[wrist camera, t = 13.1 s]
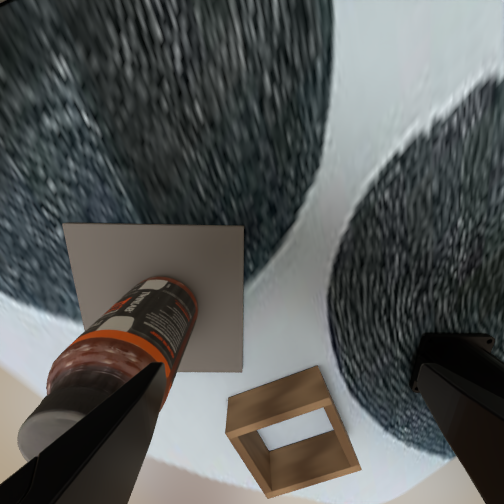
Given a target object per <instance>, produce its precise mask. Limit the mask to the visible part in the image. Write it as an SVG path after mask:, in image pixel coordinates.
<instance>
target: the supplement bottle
mask: <svg viewBox="0 0 504 504" xmlns="http://www.w3.org/2000/svg"><path fill="white" fill-rule="evenodd" d="M197 315H198V306H197V301H196V299H195V297H194V295H193V294H192V292H191V291H190V290H189V289H188V288H187V287H186V286H185V285H184V284H182V283H181V282H179V281H177V280H175V279H172V278H167V277H151V278H148V279H146V280H143V281H142V282H140V283H139V284H137V285H136V286H134V287H133V288H132V289H131V290H130V291H129V292H128V293H127V294H125V295H124V296H123V297H122V298H121V299H120V300H119V301H117V302H116V303H115V304H114V305H113V306H112V307H111V308H110V309H109V310H108V311H107V312H106V313H105V314H104V315H103V316H101V317H100V318H99V319H98V320H97V321H95V323H94V324H92V325H91V326H90V327H89V328H88V329H87V330H86V331H85V332H84V333H83V334H81V335H80V336H79V337H78V338H77V339H76V340H75V341H74V342H73V343H72V344H71V345H70V346H69V347H68V348H66V349H65V350H64V351H63V352H62V353H61V355H60V356H59V357H58V358H57V359H56V360H55V361H54V363H53V365H52V367H51V370H50V372H49V375H48V379H47V387H46V389H47V396H46V397H45V398H44V399H43V400H42V402H41V404H40V405H39V406H38V407H37V408H36V409H35V410H34V412H33V413H32V414H31V415H30V416H29V417H28V418H27V419H26V421H25V422H24V423H23V424H22V426H21V428H20V430H19V433H18V447H19V450H20V451H21V453H22V455H23V457H24V458H25V460H26V461H27V462H29V461H30V460H31V459H32V458H34V457H35V456H38V454H39V453H40V452H41V451H42V450H44V449H45V448H46V447H47V446H49V445H50V444H51V443H52V442H53V441H55V440H56V439H57V438H58V437H60V436H61V435H62V434H63V433H65V432H66V431H67V430H68V429H69V428H71V427H72V426H73V425H74V424H76V423H77V422H78V421H79V420H81V419H82V418H83V417H84V416H86V415H87V414H88V413H89V412H90V411H92V410H93V409H94V408H95V407H97V406H98V405H99V404H100V403H102V402H103V401H104V400H105V399H106V398H108V397H109V396H110V395H111V394H113V393H114V392H115V391H116V390H118V389H119V388H120V387H121V386H122V385H124V384H125V383H126V382H127V381H129V380H130V379H131V378H132V377H134V376H135V375H136V374H137V373H138V372H140V371H141V370H142V369H143V368H145V367H146V366H147V365H148V364H150V363H151V362H163V363H164V364H165V372H166V389H165V393H164V396H163V400H162V404H161V407H160V411H161V409H162V407H163V405H164V403H165V401H166V399H167V396H168V393H169V391H170V389H171V386H172V384H173V381H174V378H175V376H176V373H177V370H178V368H179V365H180V363H181V360H182V357H183V355H184V352H185V350H186V347H187V345H188V342H189V339H190V337H191V334H192V331H193V329H194V326H195V323H196V319H197ZM160 411H159V412H160Z"/></svg>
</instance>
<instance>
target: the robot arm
mask: <svg viewBox="0 0 504 504" xmlns="http://www.w3.org/2000/svg"><path fill="white" fill-rule="evenodd" d="M494 342H495V339H494V338H493V337H492V336H490V335H488V334H426V335H424V336H423V338H422V341H421V345H420V348H419V352H418V356H417V360H416V363H415V367H414V371H413V375H412V379H411V382H410V388H411V389H412V391H413V392H416V393H421V395H422V397H423V399H424V401H425V402H426V404H427V406H428V408H429V410H430V412H431V413H432V415H433V417H434V419H435V421H436V423H437V424H438V426H439V428H440V430H441V432H442V433H443V435H444V437H445V439H446V440H447V442H448V443H449V445H450V447H451V448H452V450H453V451H454V453H455V454H456V456H457V457H458V459H459V461H460V462H461V464H462V465H463V467H464V468H465V470H466V472H467V473H468V475H469V476H470V478H471V480H472V482H473V483H474V485H475V487H476V488H477V490H478V492H479V493H480V495H481V497H482V498H483V500H484V502H485V503H486V504H504V362H502V361H501V360H500V359H498V358H497V357H495V356H494V355H492V354H491V350H492V348H493V345H494ZM165 389H166V372H165V364H164V363H163V362H151V363H150V364H148V365H147V366H146V367H145V368H143V369H142V370H141V371H140V372H138V373H137V374H136V375H135V376H134V377H132V378H131V379H130V380H129V381H127V382H126V383H125V384H124V385H122V386H121V387H120V388H119V389H118V390H116V391H115V392H114V393H113V394H111V395H110V396H109V397H108V398H106V399H105V400H104V401H103V402H102V403H100V404H99V405H98V406H97V407H95V408H94V409H93V410H92V411H90V412H89V413H88V414H87V415H86V416H84V417H83V418H82V419H81V420H79V421H78V422H77V423H76V424H74V425H73V426H72V427H71V428H69V429H68V430H67V431H66V432H65V433H63V434H62V435H61V436H60V437H58V438H57V439H56V440H55V441H53V442H52V443H51V444H50V445H49V446H47V447H46V448H45V449H44V450H42V451H41V452H40V453H39V454H38V456H35V457H34V458H32V459H31V460H30V461H29V462H27V463H26V464H25V465H24V466H23V467H21V468H20V469H19V470H18V471H16V472H15V473H14V474H13V475H11V476H10V477H9V478H7V479H6V480H5V481H4V482H2V483H1V484H0V504H127V503H128V501H129V498H130V496H131V493H132V490H133V488H134V485H135V482H136V480H137V477H138V474H139V471H140V469H141V466H142V464H143V461H144V459H145V456H146V453H147V451H148V448H149V445H150V442H151V439H152V436H153V433H154V429H155V426H156V422H157V418H158V415H159V411H160V407H161V404H162V400H163V396H164V393H165Z"/></svg>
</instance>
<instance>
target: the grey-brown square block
mask: <svg viewBox="0 0 504 504" xmlns="http://www.w3.org/2000/svg"><path fill="white" fill-rule="evenodd" d="M62 225H63V230H64V234H65V239H66V244H67V249H68V254H69V258H70V263H71V268H72V273H73V277H74V282H75V287H76V292H77V296H78V301H79V306H80V311H81V315H82V320H83V325H84V330H85V331H86V330H87V329H88V328H89V327H90V326H91V325H92V324H94V323H95V321H97V320H98V319H99V318H100V317H101V316H103V315H104V314H105V313H106V312H107V311H108V310H109V309H110V308H111V307H112V306H113V305H114V304H115V303H116V302H117V301H119V300H120V299H121V298H122V297H123V296H124V295H125V294H127V293H128V292H129V291H130V290H131V289H132V288H133V287H134V286H136V285H137V284H139V283H140V282H142V281H143V280H146V279H148V278H151V277H167V278H172V279H175V280H177V281H179V282H181V283H182V284H184V285H185V286H186V287H187V288H188V289H189V290H190V291H191V292H192V294H193V295H194V297H195V299H196V301H197V306H198V315H197V319H196V323H195V326H194V329H193V331H192V334H191V337H190V339H189V342H188V345H187V347H186V350H185V352H184V355H183V357H182V360H181V363H180V365H179V368H178V370H177V372H242V358H243V267H244V226H225V225H169V224H113V223H63V224H62Z"/></svg>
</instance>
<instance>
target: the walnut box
mask: <svg viewBox="0 0 504 504" xmlns="http://www.w3.org/2000/svg"><path fill="white" fill-rule="evenodd" d="M322 407H324V409H325V411H326V414H327V416H328V418H329V420H330V422H331V424H332V427H333V429H334V431H331V432H327V433H324V434H321V435H318V436H315V437H312V438H309V439H306V440H303V441H300V442H297V443H294V444H291V445H288V446H285V447H282V448H279V449H276V450H273V451H270V452H269V451H268V449H267V448H266V446H265V444H264V442H263V441H262V439H261V437H260V436H259V434H258V432H257V431H256V430H258V429H261V428H264V427H267V426H270V425H273V424H276V423H279V422H281V421H284V420H287V419H290V418H293V417H296V416H299V415H302V414H305V413H308V412H311V411H314V410H317V409H319V408H322ZM225 434H226V435H227V437H228V438H229V440H230V442H231V443H232V445H233V446H234V448H235V449H236V451H237V452H238V454H239V455H240V457H241V459H242V460H243V462H244V463H245V465H246V466H247V468H248V469H249V471H250V472H251V474H252V476H253V477H254V479H255V480H256V482H257V483H258V485H259V486H260V488H261V489H262V491H263V493H264V494H265V495H266V497H267V498H268V499H269V498H272V497H276V496H279V495H282V494H285V493H289V492H292V491H295V490H298V489H302V488H305V487H308V486H311V485H315V484H318V483H321V482H324V481H328V480H331V479H334V478H337V477H341V476H344V475H347V474H350V473H354V472H357V471H360V470H362V469H361V467H360V464H359V462H358V459H357V456H356V454H355V451H354V449H353V446H352V444H351V441H350V439H349V436H348V434H347V431H346V429H345V427H344V424H343V422H342V420H341V418H340V415H339V413H338V411H337V409H336V406H335V404H334V402H333V400H332V397H331V395H330V393H329V390H328V388H327V386H326V384H325V381H324V379H323V377H322V375H321V372H320V370H319V368H318V366H315V367H312V368H310V369H307V370H304V371H301V372H299V373H296V374H293V375H290V376H288V377H285V378H282V379H279V380H277V381H274V382H271V383H268V384H266V385H263V386H260V387H257V388H255V389H252V390H249V391H246V392H243V393H241V394H238V395H235V396H232V397H230V398H228V408H227V419H226V430H225Z"/></svg>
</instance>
